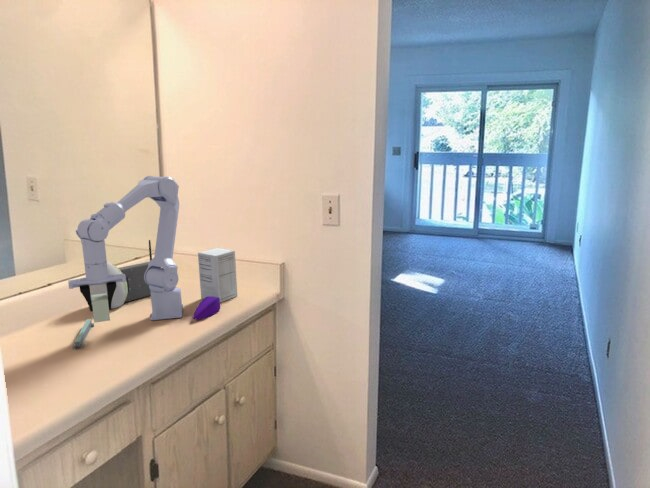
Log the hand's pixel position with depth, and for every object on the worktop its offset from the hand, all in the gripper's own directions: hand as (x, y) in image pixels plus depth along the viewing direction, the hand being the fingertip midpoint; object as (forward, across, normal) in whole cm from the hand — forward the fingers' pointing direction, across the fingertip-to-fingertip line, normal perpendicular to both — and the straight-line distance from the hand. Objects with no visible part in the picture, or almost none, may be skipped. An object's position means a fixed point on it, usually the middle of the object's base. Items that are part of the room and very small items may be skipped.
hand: (100, 309), depth 144 cm
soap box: (+2, 0, 0) cm, 2 cm away
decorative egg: (+8, -3, -30) cm, 31 cm away
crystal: (+9, -31, -5) cm, 32 cm away
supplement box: (+8, -39, -21) cm, 45 cm away
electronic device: (+8, -13, -34) cm, 37 cm away
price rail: (+8, +5, -3) cm, 10 cm away
